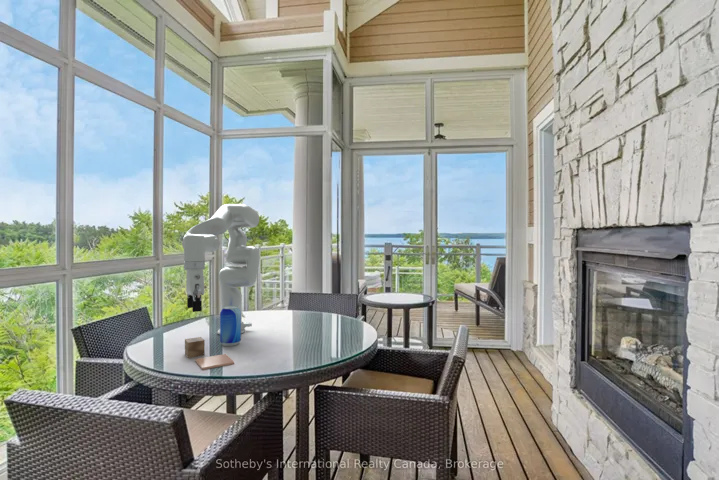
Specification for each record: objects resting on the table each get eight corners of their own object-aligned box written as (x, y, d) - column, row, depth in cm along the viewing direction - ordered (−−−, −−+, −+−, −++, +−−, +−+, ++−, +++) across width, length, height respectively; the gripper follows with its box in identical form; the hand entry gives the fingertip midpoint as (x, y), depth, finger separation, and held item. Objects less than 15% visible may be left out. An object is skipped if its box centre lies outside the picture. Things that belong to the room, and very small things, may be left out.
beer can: (244, 342, 167) (244, 305, 167) (232, 347, 159) (232, 309, 159) (228, 340, 170) (228, 304, 170) (215, 345, 162) (215, 308, 162)
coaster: (225, 355, 148) (225, 353, 148) (234, 363, 139) (234, 361, 139) (195, 361, 142) (195, 359, 142) (202, 369, 133) (202, 367, 133)
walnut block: (200, 351, 154) (200, 336, 154) (204, 355, 149) (204, 340, 149) (184, 354, 150) (184, 339, 150) (188, 358, 146) (188, 342, 146)
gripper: (209, 267, 144) (209, 312, 144) (199, 264, 158) (199, 305, 159) (188, 267, 140) (188, 314, 140) (179, 264, 154) (179, 307, 154)
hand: (194, 309), depth 149 cm, fingers open, 9 cm apart
